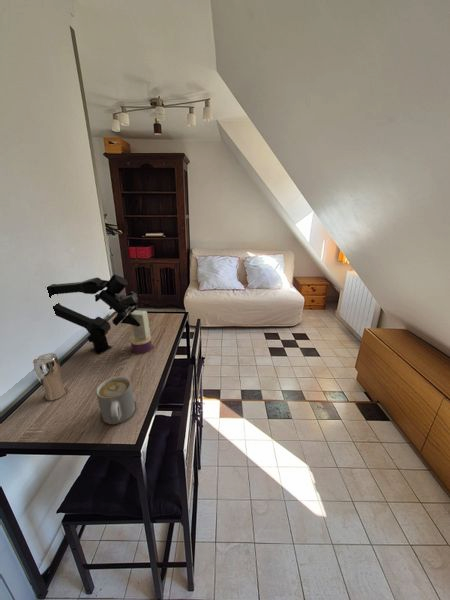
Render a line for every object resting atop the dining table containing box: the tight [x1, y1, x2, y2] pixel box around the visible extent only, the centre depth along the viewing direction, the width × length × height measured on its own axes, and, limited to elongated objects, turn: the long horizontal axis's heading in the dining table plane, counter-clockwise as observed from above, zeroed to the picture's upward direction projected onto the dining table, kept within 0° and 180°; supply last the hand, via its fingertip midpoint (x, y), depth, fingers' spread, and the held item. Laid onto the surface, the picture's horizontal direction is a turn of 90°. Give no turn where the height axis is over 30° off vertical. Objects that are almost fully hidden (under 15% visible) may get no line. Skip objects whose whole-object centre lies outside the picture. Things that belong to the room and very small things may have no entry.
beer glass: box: [32, 352, 67, 401], centre depth 86 cm, size 7×7×15 cm
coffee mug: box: [95, 376, 136, 425], centre depth 77 cm, size 13×10×10 cm
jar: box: [129, 334, 153, 354], centre depth 116 cm, size 9×9×6 cm
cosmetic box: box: [131, 309, 151, 339], centre depth 113 cm, size 6×4×12 cm
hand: (141, 323), depth 113 cm, fingers closed on cosmetic box, 5 cm apart
